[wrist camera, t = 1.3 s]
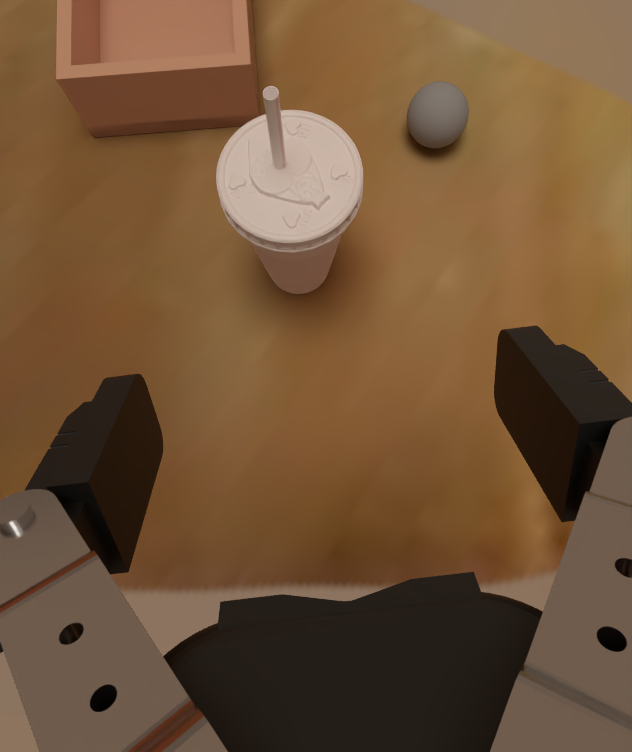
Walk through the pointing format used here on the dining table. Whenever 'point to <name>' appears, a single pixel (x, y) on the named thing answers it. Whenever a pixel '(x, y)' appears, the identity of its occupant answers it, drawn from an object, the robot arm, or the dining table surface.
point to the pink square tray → (157, 64)
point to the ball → (437, 114)
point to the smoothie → (291, 191)
